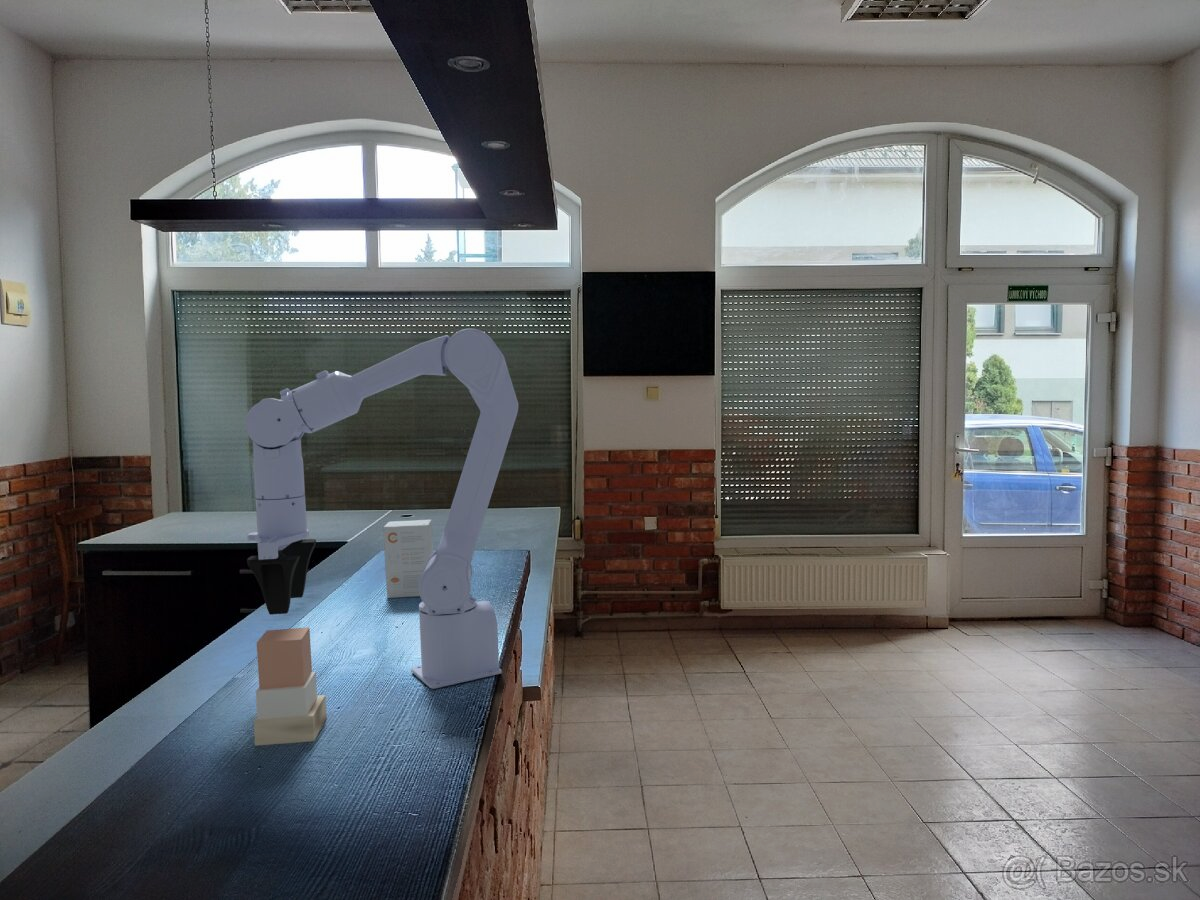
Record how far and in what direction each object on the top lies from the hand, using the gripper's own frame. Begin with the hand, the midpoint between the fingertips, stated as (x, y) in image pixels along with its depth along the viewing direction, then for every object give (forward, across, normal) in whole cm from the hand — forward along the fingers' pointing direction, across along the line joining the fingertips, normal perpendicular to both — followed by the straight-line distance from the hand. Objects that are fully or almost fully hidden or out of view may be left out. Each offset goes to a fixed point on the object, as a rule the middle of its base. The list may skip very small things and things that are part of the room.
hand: (286, 605), depth 101 cm
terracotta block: (+5, +14, +3) cm, 15 cm away
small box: (+11, -45, +10) cm, 48 cm away
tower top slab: (+8, +14, +3) cm, 17 cm away
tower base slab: (+11, +14, +3) cm, 18 cm away
